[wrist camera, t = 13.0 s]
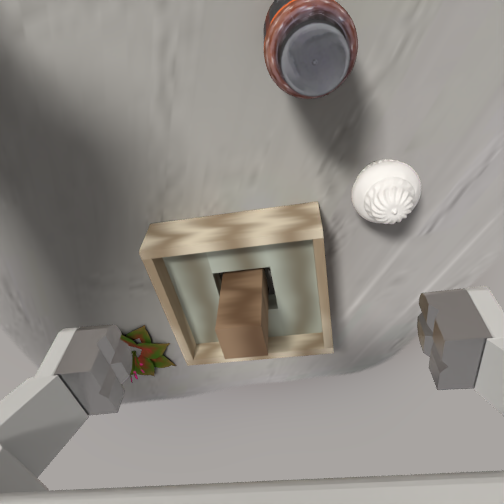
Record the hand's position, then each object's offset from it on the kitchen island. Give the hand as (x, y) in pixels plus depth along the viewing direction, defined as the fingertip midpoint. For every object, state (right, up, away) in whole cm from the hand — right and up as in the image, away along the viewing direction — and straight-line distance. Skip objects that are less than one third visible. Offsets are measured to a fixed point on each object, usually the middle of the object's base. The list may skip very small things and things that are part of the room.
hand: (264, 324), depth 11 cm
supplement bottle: (+4, +20, +22) cm, 30 cm away
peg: (-1, -1, +38) cm, 38 cm away
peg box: (-1, -1, +38) cm, 38 cm away
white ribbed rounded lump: (+12, +10, +29) cm, 33 cm away
